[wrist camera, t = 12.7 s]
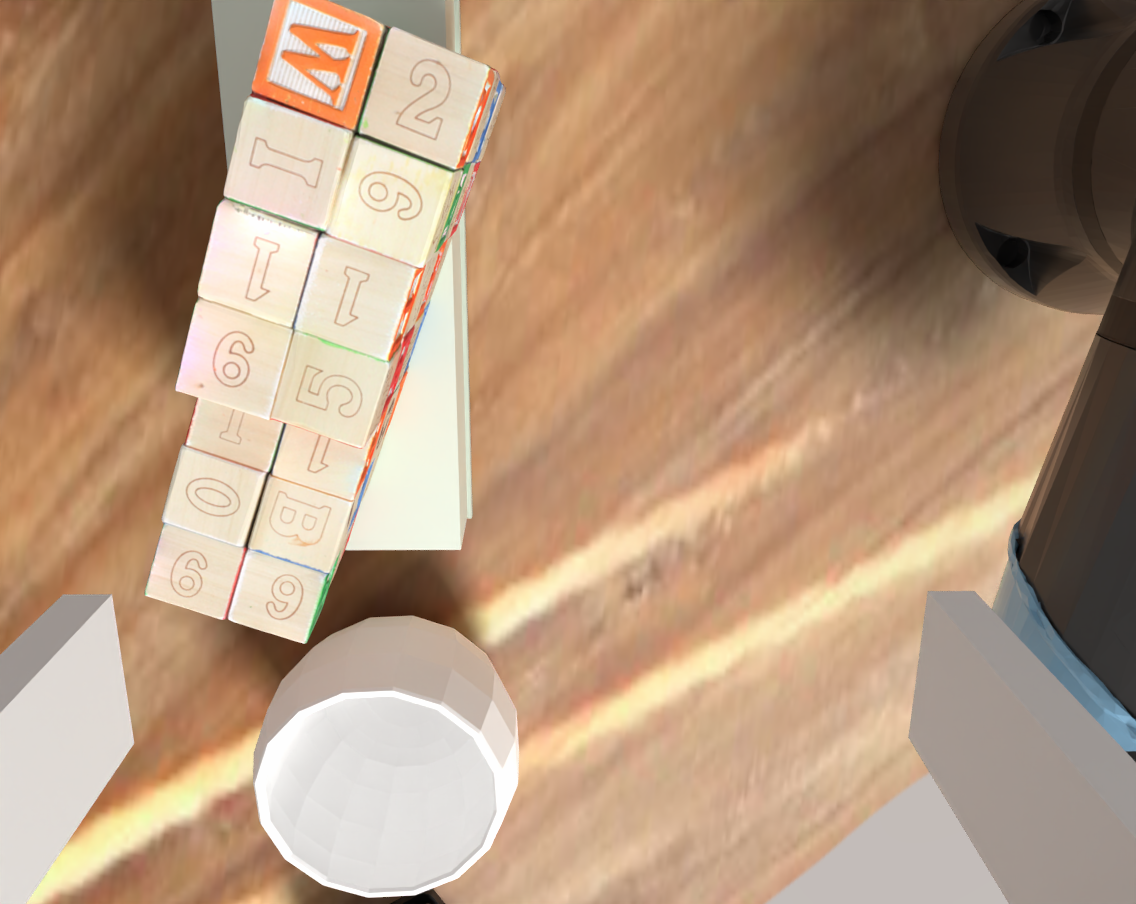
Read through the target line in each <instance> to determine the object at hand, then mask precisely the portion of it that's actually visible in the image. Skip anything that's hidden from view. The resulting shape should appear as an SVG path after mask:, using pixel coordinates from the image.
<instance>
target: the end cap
mask: <svg viewBox="0 0 1136 904" xmlns="http://www.w3.org/2000/svg"><path fill="white" fill-rule="evenodd" d="M391 904H445V903H444V902H443V901H442V900H441V898H440V897H439V896H438V895H437V894H436V892H435V891H434V890H433V889H429V890H427V891H424V892H422V893H419V894H417V895H411V896H404V897H402V898H400V899H398V900H396V901H394V902H393V903H391Z"/></svg>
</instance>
